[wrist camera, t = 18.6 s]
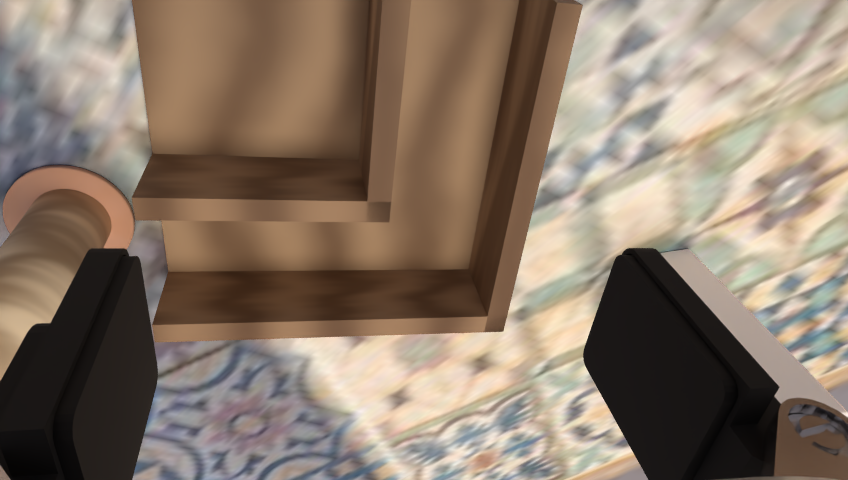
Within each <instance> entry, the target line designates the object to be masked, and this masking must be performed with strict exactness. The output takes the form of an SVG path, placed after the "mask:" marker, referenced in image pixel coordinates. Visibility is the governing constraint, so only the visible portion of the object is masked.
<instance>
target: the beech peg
mask: <svg viewBox="0 0 848 480" xmlns="http://www.w3.org/2000/svg"><path fill="white" fill-rule="evenodd" d="M111 227H112V225H111V219H110V216H109V214H108V212H107V210H106V209H105V208H104V206H103V205H102V204H101V203H100V202H98V201H97V200H96V199H94V198H93V197H91V196H89V195H87V194H85V193H83V192H80V191H76V190H71V189H56V190H51V191H48V192H46V193H44V194H42V195H40V196H39V197H38V198H37V199H36V200H35V201H34V202H33V204H32V205H31V207H30V208H29V209H28V211H27V212H26V213H25V215H24V216H23V217H22V219H21V220H20V221H19V223H18V224H17V226H16V227H15V228H14V230H13V231H12V232H11V234H10V235H9V236H8V238H7V239H6V241H5V242H4V243H3V245H2V246H1V247H0V381H1V379H2V377H3V375H4V374H5V372H6V370H7V368H8V366H9V365H10V363H11V361H12V359H13V357H14V356H15V354H16V352H17V350H18V348H19V346H20V345H21V343H22V341H23V339H24V337H25V336H26V334H27V332H28V331H29V330H30V328H31V327H32V326H33V325H35V324H37V323H51V321H52V319H53V317H54V315H55V313H56V311H57V309H58V307H59V305H60V304H61V302H62V300H63V298H64V296H65V294H66V292H67V290H68V288H69V286H70V284H71V282H72V280H73V278H74V276H75V274H76V273H77V271H78V269H79V267H80V265H81V263H82V261H83V259H84V257H85V255H86V253H87V252H88V250H89V249H91V248H104V246H105V244H106V241H107V239H108V237H109V235H110V233H111Z"/></svg>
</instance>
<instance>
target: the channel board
mask: <svg viewBox="0 0 848 480" xmlns="http://www.w3.org/2000/svg"><path fill="white" fill-rule="evenodd" d="M132 4H133V12H134V19H135V27H136V34H137V42H138V49H139V57H140V64H141V72H142V79H143V86H144V94H145V101H146V109H147V116H148V124H149V131H150V139H151V146H152V156H151V158H150V160H149V162H148V164H147V166H146V168H145V171H144V173H143V175H142V177H141V179H140V181H139V183H138V186H137V188H136V190H135V192H134V194H133V196H132V202H133V208H134V214H135V220H161V221H162V228H163V236H164V243H165V251H166V258H167V266H168V274H167V278H166V281H165V284H164V288H163V291H162V294H161V298H160V301H159V304H158V308H157V311H156V314H155V318H154V321H153V324H152V326H153V333H154V339H155V342H182V341H214V340H246V339H278V338H311V337H343V336H375V335H407V334H440V333H472V332H503V330H504V326H505V322H506V318H507V314H508V310H509V306H510V301H511V297H512V293H513V289H514V285H515V281H516V277H517V273H518V269H519V264H520V260H521V256H522V252H523V248H524V244H525V240H526V236H527V232H528V227H529V223H530V219H531V215H532V211H533V207H534V203H535V199H536V195H537V191H538V186H539V182H540V178H541V174H542V170H543V166H544V162H545V158H546V154H547V149H548V145H549V141H550V137H551V133H552V129H553V125H554V121H555V117H556V112H557V108H558V104H559V100H560V96H561V92H562V88H563V84H564V80H565V76H566V71H567V67H568V63H569V59H570V55H571V51H572V47H573V43H574V39H575V34H576V30H577V26H578V22H579V18H580V14H581V10H582V6H583V5H582V4H580V3H578V2H576V1H575V0H132Z"/></svg>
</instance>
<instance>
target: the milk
mask: <svg viewBox="0 0 848 480" xmlns="http://www.w3.org/2000/svg"><path fill="white" fill-rule="evenodd" d="M660 254H661V255H662V256H663V257H664V258H665V259H666V260H667V261H668V263H669V264H670V265H671V266H672V267H673V268H674V269H675V270H676V272H677V273H678V274H679V275H680V276H681V277H682V278H683V279H684V281H685V282H686V283H687V284H688V285H689V286H690V287H691V288H692V289H693V291H694V292H695V293H696V294H697V295H698V296H699V297H700V298H701V300H702V301H703V302H704V303H705V304H706V305H707V306H708V307H709V308H710V310H711V311H712V312H713V313H714V314H715V315H716V316H717V317H718V319H719V320H720V321H721V322H722V323H723V324H724V325H725V326H726V328H727V329H728V330H729V331H730V332H731V333H732V334H733V335H734V336H735V338H736V339H737V340H738V341H739V342H740V343H741V344H742V345H743V347H744V348H745V349H746V350H747V351H748V352H749V353H750V354H751V355H752V357H753V358H754V359H755V360H756V361H757V362H758V363H759V364H760V366H761V367H762V368H763V369H764V370H765V371H766V372H767V373H768V374H769V376H770V377H771V378H772V379H773V380H774V381H775V382H776V383H777V385H778V386H779V389H778V391H777V392H776V394H775V398H776V399H777V400H778V401H779V402H780V403H783V402H784V401H786V400H787V399H791V398H806V399H811V400H815V401H818V402H821V403H824V404H826V405H828V406H830V407H832V408H834V409H836V410H838V411H839V412H841V413H842V414H844V415H845V416H846V417H848V412H847V411H846V409H845V408H844V407H843V406H842V405H841V404H840V403H839V402H838V401H837V400H836V399H835V398H834V397H833V396H832V395H831V394H830V393H829V392H828V391H827V390H826V389H825V388H824V387H823V386H822V385H821V384H820V383H819V382H818V381H817V380H816V379H815V378H814V377H813V376H812V375H811V374H810V373H809V372H808V370H807V369H806V368H805V367H804V366H803V365H802V364H801V363H800V362H799V361H798V360H797V359H796V358H795V357H794V356H793V355H792V354H791V353H790V352H789V351H788V350H787V349H786V348H785V347H784V346H783V345H782V344H781V343H780V342H779V341H778V340H777V339H776V338H775V337H774V336H773V335H772V334H771V333H770V332H769V331H768V329H767V328H766V327H765V326H764V325H763V324H762V323H761V322H760V321H759V320H758V319H757V318H756V317H755V316H754V315H753V314H752V313H751V312H750V311H749V310H748V309H747V308H746V307H745V306H744V305H743V304H742V303H741V302H740V301H739V300H738V299H737V298H736V297H735V296H734V295H733V294H732V293H731V292H730V291H729V290H728V289H727V287H726V286H725V285H724V284H723V283H722V282H721V281H720V280H719V279H718V278H717V277H716V276H715V275H714V274H713V273H712V272H711V271H710V270H709V269H708V268H707V267H706V266H705V265H704V264H703V263H702V262H701V261H700V260H699V259H698V258H697V257H696V256H695V255H694V254H693V253H692V252H691V251H690V250H689V249H684V250H677V251H670V252H663V253H660Z"/></svg>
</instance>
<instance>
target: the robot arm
mask: <svg viewBox="0 0 848 480" xmlns="http://www.w3.org/2000/svg"><path fill="white" fill-rule="evenodd" d="M583 358H584V363H585V366H586V368H587V370H588V372H589V374H590V375H591V377H592V379H593V381H594V383H595V384H596V386H597V388H598V390H599V392H600V393H601V395H602V397H603V399H604V401H605V402H606V404H607V406H608V408H609V410H610V411H611V413H612V415H613V417H614V419H615V420H616V422H617V424H618V426H619V428H620V429H621V431H622V433H623V435H624V437H625V438H626V440H627V442H628V444H629V446H630V447H631V449H632V451H633V453H634V455H635V456H636V458H637V460H638V462H639V464H640V465H641V467H642V469H643V471H644V473H645V474H646V476H647V478H648V480H848V417H846V416H845V415H844V414H842V413H841V412H839V411H838V410H836V409H834V408H832V407H830V406H828V405H826V404H824V403H821V402H818V401H815V400H811V399H806V398H791V399H787V400H786V401H784V402H783V403H780V402H779V401H778V400H777V399H776V398H775V394H776V392H777V391H778V389H779V386H778V385H777V383H776V382H775V381H774V380H773V379H772V378H771V377H770V376H769V374H768V373H767V372H766V371H765V370H764V369H763V368H762V367H761V366H760V364H759V363H758V362H757V361H756V360H755V359H754V358H753V357H752V355H751V354H750V353H749V352H748V351H747V350H746V349H745V348H744V347H743V345H742V344H741V343H740V342H739V341H738V340H737V339H736V338H735V336H734V335H733V334H732V333H731V332H730V331H729V330H728V329H727V328H726V326H725V325H724V324H723V323H722V322H721V321H720V320H719V319H718V317H717V316H716V315H715V314H714V313H713V312H712V311H711V310H710V308H709V307H708V306H707V305H706V304H705V303H704V302H703V301H702V300H701V298H700V297H699V296H698V295H697V294H696V293H695V292H694V291H693V289H692V288H691V287H690V286H689V285H688V284H687V283H686V282H685V281H684V279H683V278H682V277H681V276H680V275H679V274H678V273H677V272H676V270H675V269H674V268H673V267H672V266H671V265H670V264H669V263H668V261H667V260H666V259H665V258H664V257H663V256H662V255H661V254H660V253H659V251H657V250H656V249H653V248H629V249H626V250H625V251H624V252H623V253H622V255H619V256H617V257H616V259H615V261H614V264H613V266H612V269H611V272H610V275H609V278H608V281H607V284H606V287H605V290H604V293H603V295H602V298H601V301H600V304H599V307H598V310H597V313H596V316H595V319H594V322H593V325H592V327H591V330H590V333H589V336H588V339H587V342H586V345H585V348H584V353H583ZM157 377H158V368H157V360H156V354H155V348H154V342H153V336H152V330H151V324H150V317H149V311H148V305H147V299H146V293H145V287H144V281H143V274H142V268H141V263H140V259H139V257H137V256H129V254H128V252H127V250H126V249H125V248H91V249H89V250H88V252H87V253H86V255H85V257H84V259H83V261H82V263H81V265H80V267H79V269H78V271H77V273H76V274H75V276H74V278H73V280H72V282H71V284H70V286H69V288H68V290H67V292H66V294H65V296H64V298H63V300H62V302H61V304H60V305H59V307H58V309H57V311H56V313H55V315H54V317H53V319H52V321H51V323H37V324H35V325H33V326H32V327H31V328H30V330H29V331H28V332H27V334H26V336H25V337H24V339H23V341H22V343H21V345H20V346H19V348H18V350H17V352H16V354H15V356H14V357H13V359H12V361H11V363H10V365H9V366H8V368H7V370H6V372H5V374H4V375H3V377H2V379H1V381H0V480H132V478H133V474H134V470H135V466H136V462H137V459H138V455H139V451H140V447H141V443H142V439H143V435H144V432H145V428H146V424H147V420H148V416H149V412H150V409H151V405H152V401H153V397H154V393H155V389H156V385H157Z"/></svg>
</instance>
